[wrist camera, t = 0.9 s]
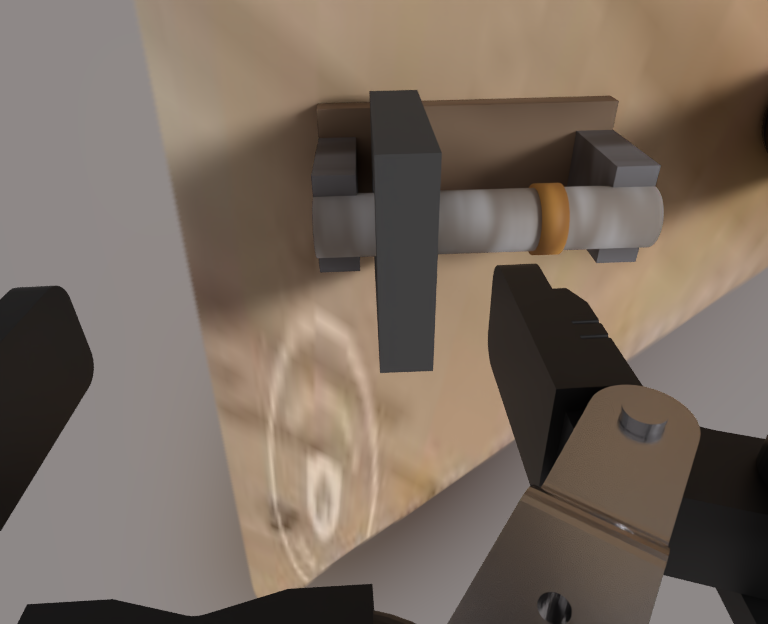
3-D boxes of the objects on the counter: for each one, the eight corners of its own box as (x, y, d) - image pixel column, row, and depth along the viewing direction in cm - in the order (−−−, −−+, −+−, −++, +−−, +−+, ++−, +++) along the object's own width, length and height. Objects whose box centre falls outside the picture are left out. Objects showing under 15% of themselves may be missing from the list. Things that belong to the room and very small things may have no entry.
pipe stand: (317, 103, 30) (305, 155, 23) (610, 95, 31) (688, 143, 23) (328, 237, 35) (320, 315, 27) (583, 229, 35) (642, 304, 28)
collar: (369, 91, 28) (374, 154, 20) (417, 89, 28) (442, 152, 20) (374, 265, 34) (380, 372, 25) (414, 264, 34) (432, 370, 25)
